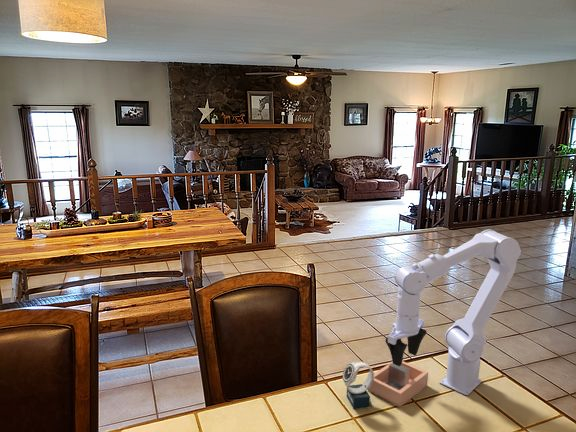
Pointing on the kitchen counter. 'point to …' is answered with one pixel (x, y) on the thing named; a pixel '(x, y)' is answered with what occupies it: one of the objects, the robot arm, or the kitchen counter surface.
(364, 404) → the watch
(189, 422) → the kitchen counter surface
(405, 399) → the salmon pink open box
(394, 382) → the grey metal t-piece
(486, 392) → the kitchen counter surface
